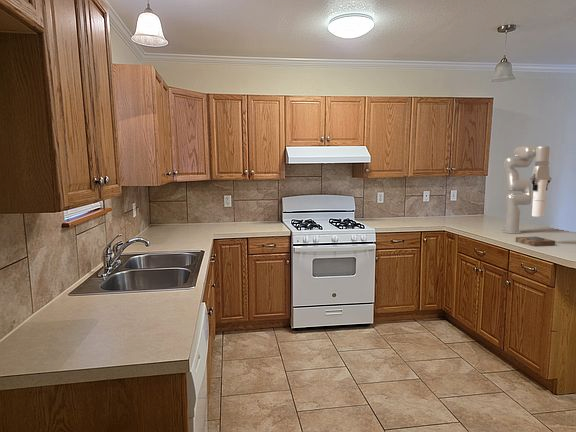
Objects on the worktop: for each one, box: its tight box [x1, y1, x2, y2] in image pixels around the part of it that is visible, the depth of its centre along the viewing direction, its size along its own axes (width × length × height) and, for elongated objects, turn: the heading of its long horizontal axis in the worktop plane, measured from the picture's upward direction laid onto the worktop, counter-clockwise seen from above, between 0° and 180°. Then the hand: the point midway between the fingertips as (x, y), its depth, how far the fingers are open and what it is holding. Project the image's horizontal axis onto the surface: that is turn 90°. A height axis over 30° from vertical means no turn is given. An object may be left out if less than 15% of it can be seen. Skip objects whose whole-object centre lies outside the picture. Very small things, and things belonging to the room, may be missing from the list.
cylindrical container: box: [531, 180, 548, 218], centre depth 254 cm, size 7×7×25 cm
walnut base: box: [515, 236, 556, 247], centre depth 254 cm, size 16×16×4 cm
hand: (539, 190), depth 253 cm, fingers closed on cylindrical container, 7 cm apart
